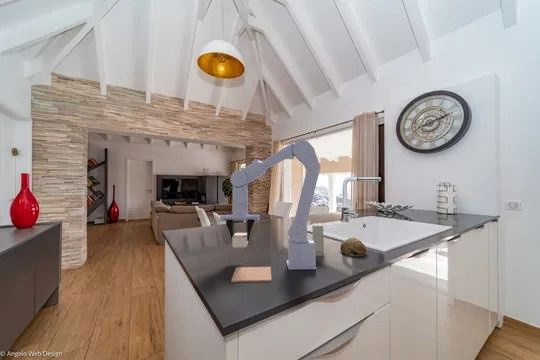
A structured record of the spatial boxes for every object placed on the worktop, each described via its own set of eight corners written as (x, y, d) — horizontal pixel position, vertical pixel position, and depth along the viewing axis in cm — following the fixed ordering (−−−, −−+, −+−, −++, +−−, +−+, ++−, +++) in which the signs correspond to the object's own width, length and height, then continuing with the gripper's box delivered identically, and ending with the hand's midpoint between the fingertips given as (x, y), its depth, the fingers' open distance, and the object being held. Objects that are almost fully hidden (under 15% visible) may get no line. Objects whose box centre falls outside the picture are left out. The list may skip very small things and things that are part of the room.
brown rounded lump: (341, 263, 90) (342, 248, 86) (338, 246, 99) (339, 231, 96) (367, 264, 88) (369, 249, 85) (361, 247, 97) (363, 232, 94)
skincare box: (324, 257, 87) (323, 226, 87) (312, 256, 88) (312, 225, 88) (323, 252, 93) (323, 223, 93) (312, 251, 94) (312, 223, 94)
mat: (270, 268, 76) (270, 266, 76) (271, 281, 66) (271, 279, 66) (235, 268, 76) (235, 267, 76) (231, 282, 66) (231, 280, 66)
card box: (248, 241, 85) (247, 232, 85) (246, 247, 78) (246, 237, 78) (235, 241, 85) (235, 232, 85) (232, 247, 78) (232, 237, 78)
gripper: (259, 202, 86) (260, 237, 86) (222, 202, 86) (223, 237, 86) (259, 204, 79) (259, 241, 79) (219, 204, 79) (219, 242, 78)
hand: (240, 240), depth 82 cm, fingers closed on card box, 5 cm apart
